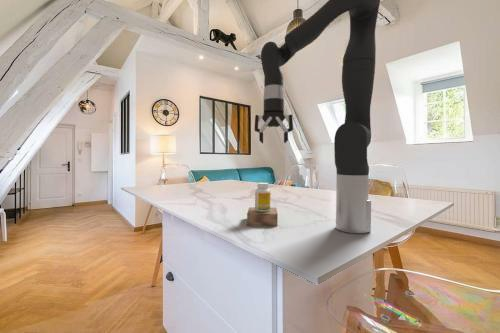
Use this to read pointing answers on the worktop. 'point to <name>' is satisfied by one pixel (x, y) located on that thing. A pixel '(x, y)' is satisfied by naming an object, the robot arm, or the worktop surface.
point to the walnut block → (262, 217)
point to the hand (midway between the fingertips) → (273, 143)
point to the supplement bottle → (262, 197)
